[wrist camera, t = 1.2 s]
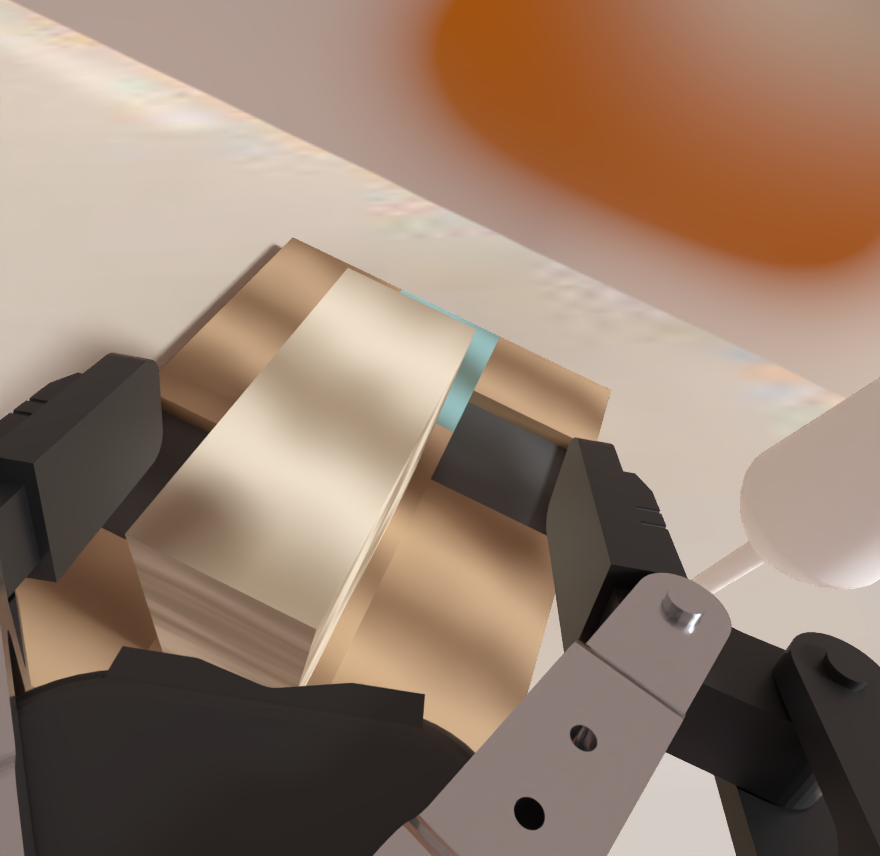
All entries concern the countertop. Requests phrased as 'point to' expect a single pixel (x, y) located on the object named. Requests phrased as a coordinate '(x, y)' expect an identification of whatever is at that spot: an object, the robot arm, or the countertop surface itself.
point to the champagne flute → (814, 502)
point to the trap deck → (406, 537)
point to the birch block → (297, 485)
